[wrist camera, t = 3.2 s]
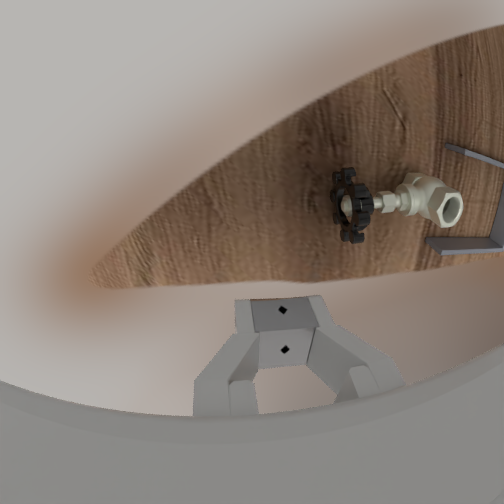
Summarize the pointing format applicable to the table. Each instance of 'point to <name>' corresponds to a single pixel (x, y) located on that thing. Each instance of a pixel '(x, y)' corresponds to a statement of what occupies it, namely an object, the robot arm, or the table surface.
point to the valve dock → (498, 241)
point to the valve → (392, 202)
